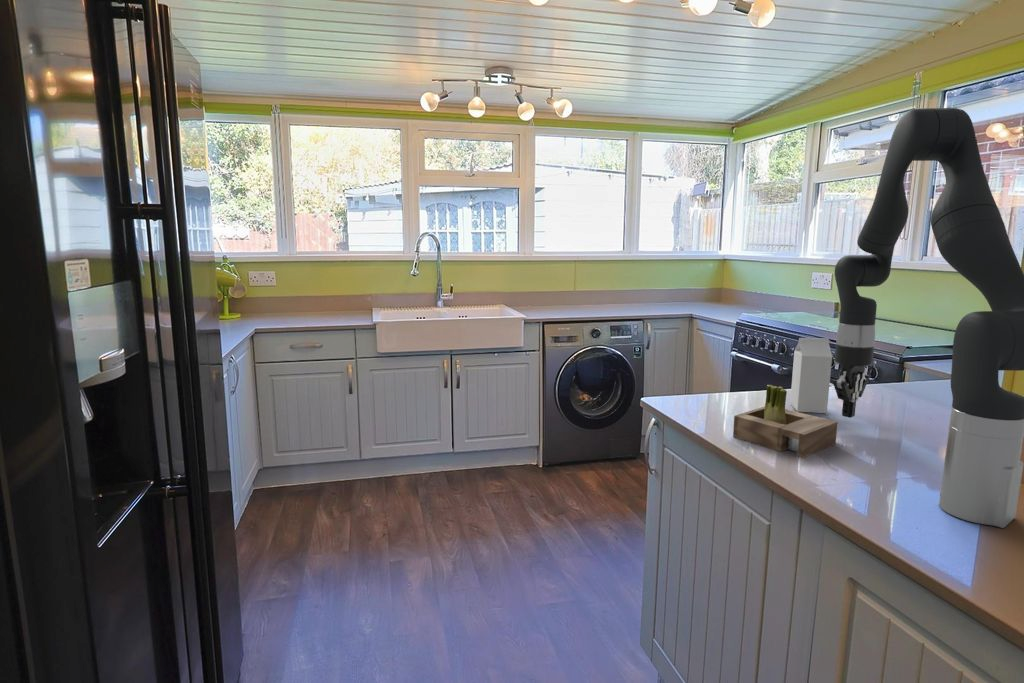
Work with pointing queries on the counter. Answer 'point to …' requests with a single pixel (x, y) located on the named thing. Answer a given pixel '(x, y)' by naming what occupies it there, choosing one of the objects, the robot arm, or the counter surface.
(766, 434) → the dock
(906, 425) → the counter surface
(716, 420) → the counter surface
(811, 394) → the milk carton
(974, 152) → the robot arm
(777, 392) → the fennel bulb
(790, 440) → the lock pin
